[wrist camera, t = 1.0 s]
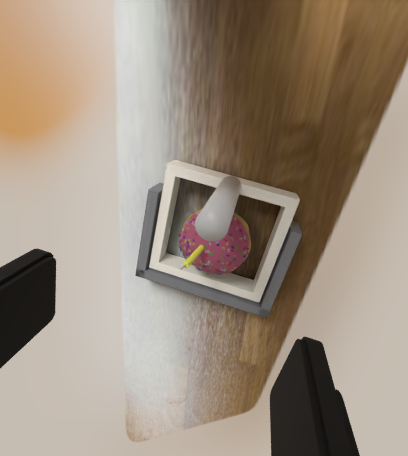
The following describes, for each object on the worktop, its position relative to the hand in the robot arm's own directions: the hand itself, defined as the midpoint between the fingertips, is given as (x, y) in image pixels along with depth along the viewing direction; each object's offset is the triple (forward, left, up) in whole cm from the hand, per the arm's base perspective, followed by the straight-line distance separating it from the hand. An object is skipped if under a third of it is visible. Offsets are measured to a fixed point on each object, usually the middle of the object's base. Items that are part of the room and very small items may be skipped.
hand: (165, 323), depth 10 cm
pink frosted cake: (+6, 0, -26) cm, 27 cm away
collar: (+6, 0, -26) cm, 27 cm away
